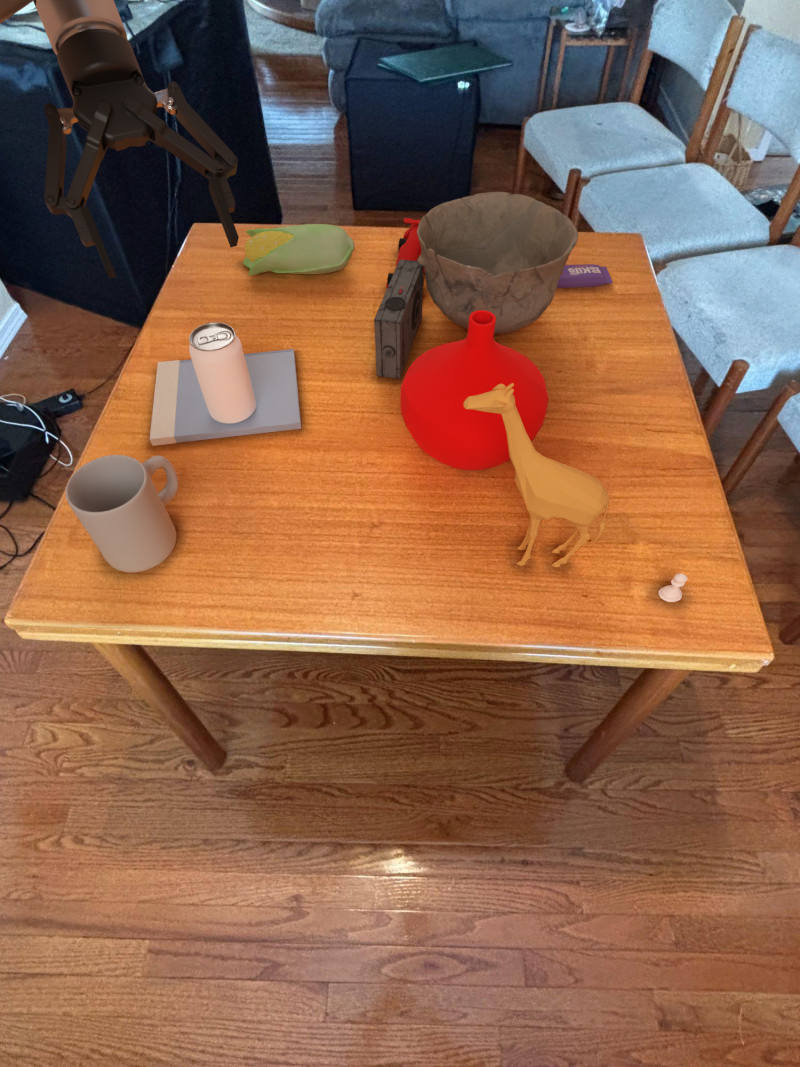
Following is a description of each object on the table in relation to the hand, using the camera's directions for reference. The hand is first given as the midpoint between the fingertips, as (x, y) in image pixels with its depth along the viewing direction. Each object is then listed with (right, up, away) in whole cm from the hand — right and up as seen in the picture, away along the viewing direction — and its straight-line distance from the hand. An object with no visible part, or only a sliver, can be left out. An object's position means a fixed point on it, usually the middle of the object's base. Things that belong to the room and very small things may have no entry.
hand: (174, 258), depth 69 cm
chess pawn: (+55, -37, +2) cm, 66 cm away
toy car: (+26, +15, +40) cm, 50 cm away
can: (+2, -13, +19) cm, 23 cm away
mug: (-5, -30, +7) cm, 32 cm away
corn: (+7, +15, +41) cm, 44 cm away
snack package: (+54, +13, +39) cm, 68 cm away
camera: (+25, -2, +28) cm, 37 cm away
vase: (+34, -18, +16) cm, 41 cm away
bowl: (+38, +4, +32) cm, 50 cm away
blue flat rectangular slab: (0, -11, +22) cm, 24 cm away
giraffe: (+39, -33, +5) cm, 51 cm away
